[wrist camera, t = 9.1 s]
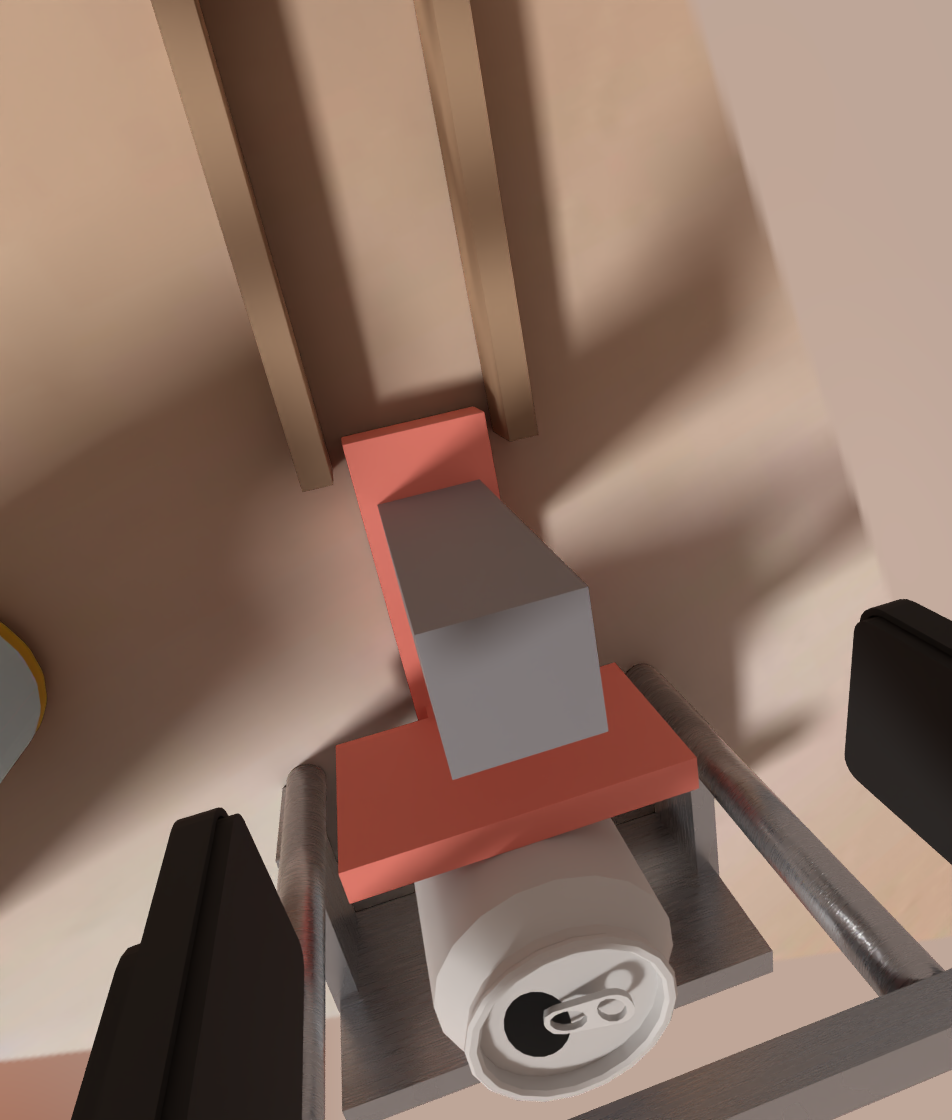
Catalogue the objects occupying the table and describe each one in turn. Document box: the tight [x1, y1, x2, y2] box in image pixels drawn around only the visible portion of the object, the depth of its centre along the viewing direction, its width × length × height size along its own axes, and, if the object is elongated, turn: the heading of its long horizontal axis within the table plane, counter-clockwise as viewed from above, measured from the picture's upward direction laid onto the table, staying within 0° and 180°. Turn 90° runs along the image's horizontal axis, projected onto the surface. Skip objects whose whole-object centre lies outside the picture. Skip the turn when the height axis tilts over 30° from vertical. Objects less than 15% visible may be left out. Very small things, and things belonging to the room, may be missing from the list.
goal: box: [276, 664, 952, 1120], centre depth 22 cm, size 10×17×16 cm, turn 101°
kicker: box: [336, 406, 699, 904], centre depth 19 cm, size 12×11×12 cm
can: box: [414, 818, 678, 1102], centre depth 23 cm, size 8×8×12 cm
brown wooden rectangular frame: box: [151, 0, 538, 492], centre depth 19 cm, size 16×8×2 cm, turn 11°
